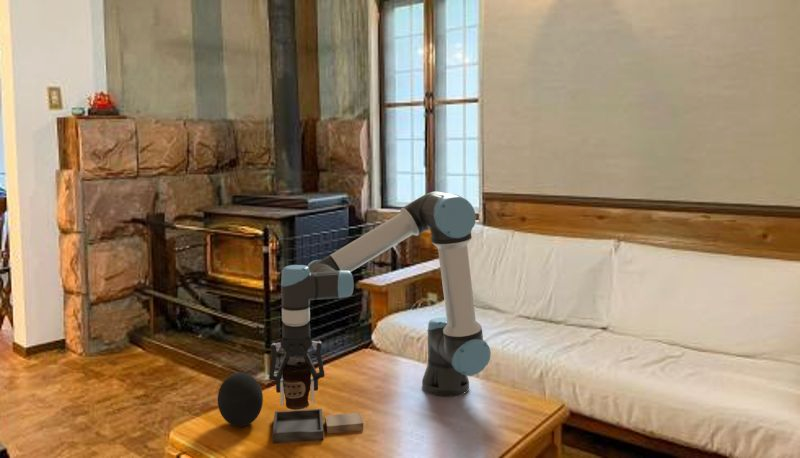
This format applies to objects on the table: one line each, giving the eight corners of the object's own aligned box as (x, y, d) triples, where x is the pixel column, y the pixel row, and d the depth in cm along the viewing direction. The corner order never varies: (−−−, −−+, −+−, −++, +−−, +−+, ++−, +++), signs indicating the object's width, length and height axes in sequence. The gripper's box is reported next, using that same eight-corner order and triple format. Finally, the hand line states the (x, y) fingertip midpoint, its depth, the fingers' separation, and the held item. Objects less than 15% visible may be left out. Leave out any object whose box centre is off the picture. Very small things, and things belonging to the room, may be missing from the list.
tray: (321, 416, 189) (321, 408, 189) (323, 439, 175) (323, 431, 175) (275, 419, 187) (274, 411, 187) (272, 443, 173) (272, 434, 173)
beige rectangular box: (359, 420, 188) (359, 412, 187) (363, 431, 181) (363, 423, 181) (325, 423, 186) (324, 415, 185) (327, 434, 179) (327, 426, 179)
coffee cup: (306, 414, 175) (305, 367, 173) (277, 411, 177) (276, 365, 175) (317, 401, 184) (316, 356, 182) (289, 398, 185) (288, 354, 183)
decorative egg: (247, 437, 176) (246, 384, 174) (209, 430, 181) (207, 378, 178) (271, 418, 188) (270, 369, 186) (235, 412, 192) (233, 363, 190)
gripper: (333, 317, 182) (333, 395, 185) (258, 319, 179) (260, 398, 182) (334, 324, 175) (335, 405, 178) (256, 327, 172) (258, 410, 175)
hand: (297, 402), depth 180 cm, fingers closed on coffee cup, 8 cm apart
